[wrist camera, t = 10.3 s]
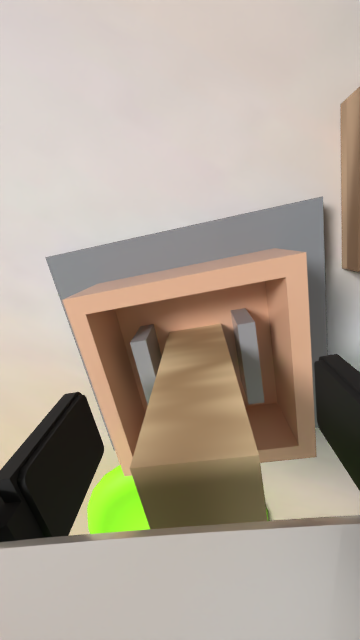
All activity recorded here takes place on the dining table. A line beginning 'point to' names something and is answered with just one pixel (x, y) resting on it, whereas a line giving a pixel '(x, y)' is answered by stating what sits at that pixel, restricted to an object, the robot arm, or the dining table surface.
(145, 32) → the dining table surface
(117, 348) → the grey base square tray
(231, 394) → the tan wooden bar
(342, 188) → the brown square tray
